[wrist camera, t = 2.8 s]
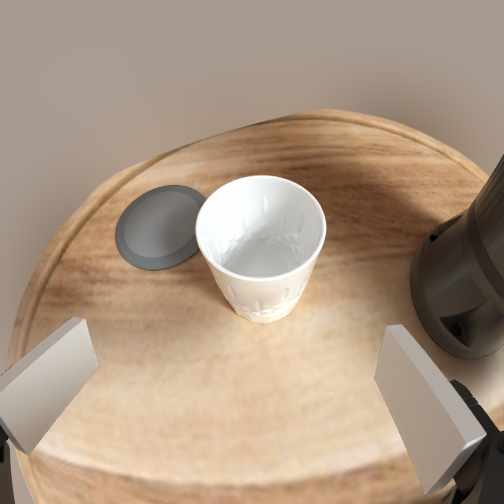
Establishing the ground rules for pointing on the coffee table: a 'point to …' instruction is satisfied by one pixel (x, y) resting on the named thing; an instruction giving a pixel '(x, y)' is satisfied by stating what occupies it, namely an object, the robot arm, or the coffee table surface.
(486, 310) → the robot arm
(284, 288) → the white cup
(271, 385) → the coffee table surface
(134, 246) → the coaster
